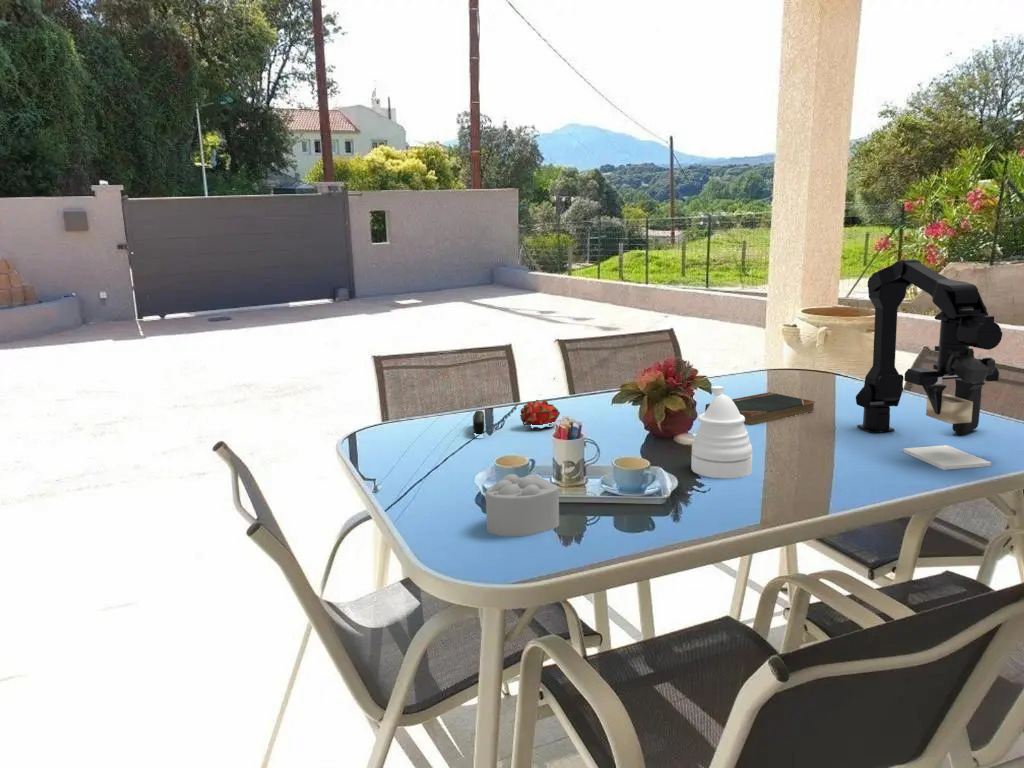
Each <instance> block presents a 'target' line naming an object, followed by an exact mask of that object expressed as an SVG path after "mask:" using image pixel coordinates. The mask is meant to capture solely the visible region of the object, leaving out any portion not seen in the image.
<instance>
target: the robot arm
mask: <svg viewBox="0 0 1024 768" xmlns="http://www.w3.org/2000/svg"><path fill="white" fill-rule="evenodd" d="M912 285H914V286H915V287H917V289H920V290H921V291H923V292H924V293H927V294H928V295H930V297H932V299H931V301H932V303H933V304H934V305H935V306H936V307H937V308H938V309H939V310H940V312H939V313H938V314H936V315H935V316H934V319H935V320H936V321H940V327H939V342H938V345H935V346H934V352H935V351H936V352H937V353H938V354H937V364H933V366H932V367H933V368H932V369H929V368H924V367H917V368H916V367H913V368H908V369H907V370H906V371H905V373H904V375H903V374H901V373H900V372H899V371H898V369H897V368H896V350H897V349H896V348H897V346H896V345H897V331H898V330H897V328H898V327H897V326H898V309H899V307H900V305H902V302H903V301H904V299H905V298H906V296H907V295H906V293H907V288H909V287H910V286H912ZM867 289H868V291H867V292H868V299H869V300H870V302H871V303H872V305H873V306H874V328H873V329H874V330H873V331H874V333H873V353H872V366H871V368H870V369H869V371H868V372H867V374H866V375H865V377H864V378H865V379H864V384H863V386H862V388H861V389H860V391H859V392H858V393H857V394H856V395H855V402H856V405H857V406H860V407H863V417H862V418H863V419H862V424H857V426H856V427H858V428H859V429H862V430H864V431H866V432H869V433H871V434H872V433H884V432H885V433H886V432H895V428H893V427H891V426H890V423H891V422H890V421H891V407H898V406H899V404H900V400H901V397H902V395H903V392H904V382H907V383H910V384H914V385H917V386H922V388H923V390H924V391H925V393H926V395H927V396H928V398H929V400H930V402H931V405H932V407H933V409H934V412H935V414H938V415H939V414H940V411H941V403H942V395H943V391H944V390H945V389H946V388H947V385H945V384H943V380H952V379H953V380H954V379H955V382H954V383H955V389H956V397H959V398H962V399H965V400H969V398H970V397H971V395H972V393H973V392H974V390H975V389H977V388H978V387H980V386H982V387H983V386H984V385H986V382H999V380H1000V371H999V369H998V368H997V367H996V359H994V358H993V357H984V358H982V359H981V358H975V355H974V354H975V351H974V348H976V349H981V350H987V351H989V350H993V349H995V348H996V347H997V346H999V344H1000V343H1001V341H1002V338H1003V331H1002V328H1001V326H1000V325H999V324H998V323H996V322H995V316H994V315H989V312H988V311H987V310H988V309H987V306H986V305H985V304H984V301H983V299H982V297H981V293H980V291H979V289H978V287H977V285H976V284H973V283H970V282H968V281H962V280H961V281H960V280H956V279H955V280H954V279H950V278H947V277H946V276H944V275H943V274H940V273H938V272H937V271H935V270H934V269H932V268H930V267H929V266H926V265H925V264H923V263H922V262H921V261H920V260H917V259H915V258H913V259H900V260H898V261H895V262H894V263H893V264H891V265H888V266H887V267H884V268H882V269H880V270H877V271H875V272H874V273H872V275H871V276H870V277H869V278H868V280H867ZM970 347H971V348H970ZM972 347H973V348H972ZM959 378H960V379H959Z"/></svg>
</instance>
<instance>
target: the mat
mask: <svg viewBox="0 0 1024 768" xmlns="http://www.w3.org/2000/svg"><path fill="white" fill-rule="evenodd" d="M902 452H903V453H904V454H907V455H908V456H909V455H910V456H911V457H914V458H915V459H917V460H921V461H922V462H925V463H928V464H929V465H932V466H934V467H935V468H937V469H938V468H939V469H941V470H943V471H946V470H958V469H959V470H960V469H972V468H985V467H991V466H992V462H991V461H988V460H986V459H984V458H981V457H979V456H975V455H973V454H970V453H967V452H966V451H963V450H960V449H958V448H956V447H953V446H950V445H947V444H944V445H934V446H932V445H931V446H921V447H920V446H919V447H906V448H902Z"/></svg>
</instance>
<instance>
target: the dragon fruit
mask: <svg viewBox="0 0 1024 768" xmlns="http://www.w3.org/2000/svg"><path fill="white" fill-rule="evenodd" d="M560 414H561V412H560V411H559V409H558V408H557V407H555V406H554V404H551V403H549V402H548V401H547V399H544V400H543V401H539V399H536V400H534V401H533V402H532V401H527V402H526V404H524V405H523V407H522V408H521V409H520V415H519V416H520V420H521V422H522V425H523V426H525V425H529V426H530V425H531V424H532V425H543V424H548V423H552V422H554V423H555V422H556V421H557V419H558V418H559V417H560ZM552 424H553V423H552Z"/></svg>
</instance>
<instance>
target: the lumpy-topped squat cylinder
mask: <svg viewBox="0 0 1024 768" xmlns="http://www.w3.org/2000/svg"><path fill="white" fill-rule="evenodd" d="M559 499H560V497H559V486H558V485H557V484H556V483H552V482H551V481H549V480H547V479H545V478H543V477H541V476H539V475H537V474H528V475H525V476H523V477H520V476H518V475H517V474H514V473H509V474H507V475H505V476H503V477H502V478H501V480H498V481H497V482H496V483H495V484H493V485H491V486H489V487H488V488H487V489H486V491H485V511H486V513H485V514H486V515H485V516H486V531H487V532H488V533H489V534H491V535H493V536H500V537H527V536H533V535H538V534H541V533H545V532H548V531H551V530H554V529H557V528H558V526H560V503H559V502H560V501H559Z"/></svg>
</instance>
